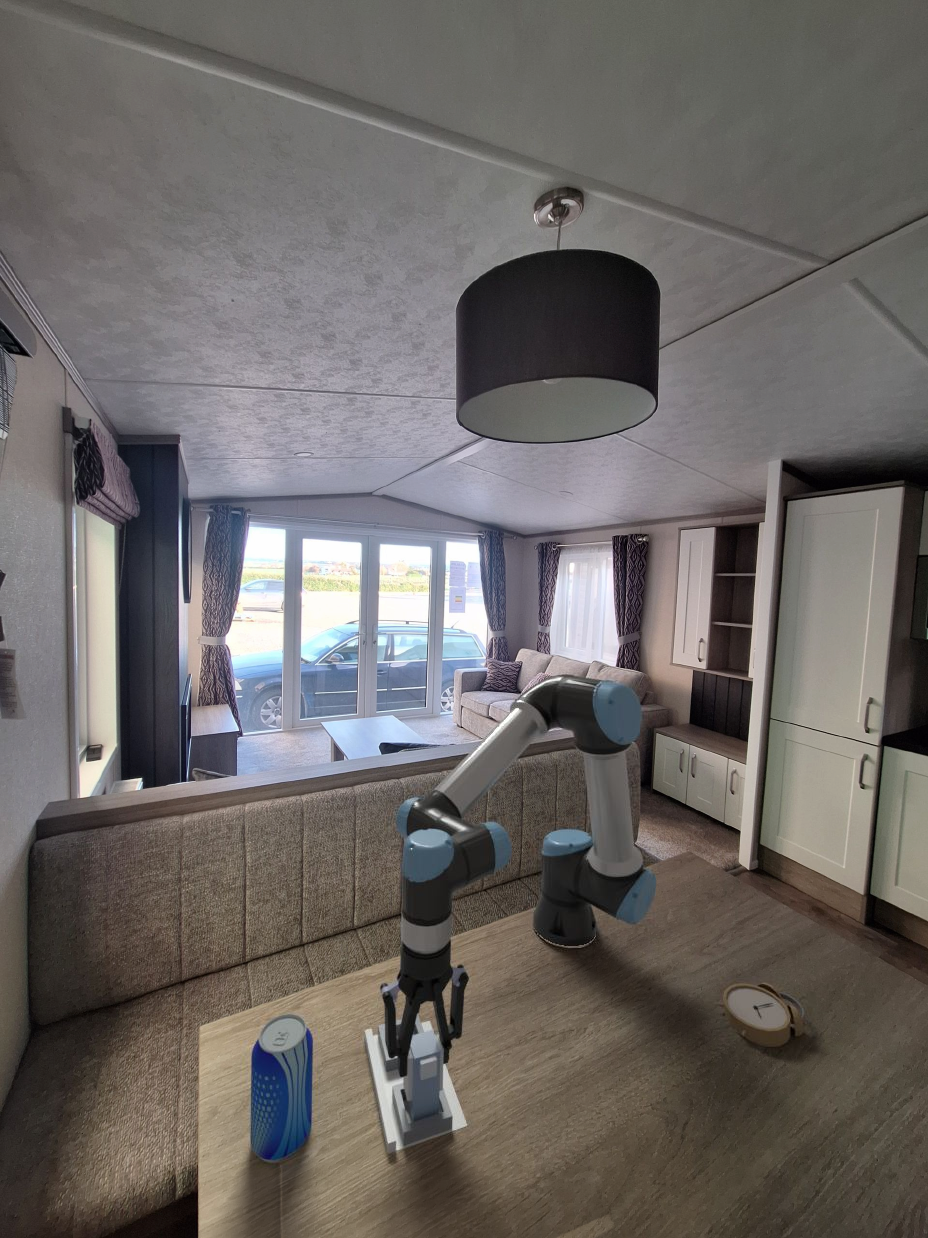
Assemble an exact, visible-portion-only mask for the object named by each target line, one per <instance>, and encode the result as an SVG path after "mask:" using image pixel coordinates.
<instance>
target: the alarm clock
mask: <svg viewBox="0 0 928 1238" xmlns="http://www.w3.org/2000/svg"><path fill="white" fill-rule="evenodd" d="M722 1000H723V1002H716V1006H718V1007H720V1008H723V1009H724V1012H723V1014H724V1013H725V1016H724V1018H725V1017H726V1018H727V1020H728V1022H729V1023H728V1022H727V1023H728V1025H729V1024H730V1025H731V1026H732V1027H733V1028H734V1029H735V1030H736V1031H737V1032H738V1033H739V1034H738V1033H737V1032H736V1031H735V1030H734V1029H733V1028H732V1027H731V1026H730V1025H729V1026H730V1027H731V1028H732V1029H733V1030H734V1031H735V1032H736V1033H737V1034H738V1035H740V1036H741V1035H742V1036H741V1037H743V1038H744V1037H745V1038H744V1039H746V1040H747V1041H750V1042H751V1043H754V1044H757V1045H758V1046H763V1047H767V1048H772V1047H781V1046H783V1045H785V1044H786V1043H787V1042H788V1041H789V1040H790V1038H791V1029H792V1028H790V1023H791V1024H794V1025H795V1030H794V1033H795V1034H794V1035H795V1036H794V1037H800V1036H802V1034H803V1032H804V1027H805V1026H807V1022H806V1021H804V1020H805V1010H804V1008H803V1006H802V1005H801V1003H800V1002H799V1001H798V1000H796V999H795V998H793V997H792V996H790V995H789V994H786V993H783V992H780V991H778V989H777V988H776V987H775V986H774V985H772V984H770V983H768V982H761V983H759V984H757V985H755V984H750V983H734V984H732V985H729V986H728V987H727V988H726V989H725V990H724V991H723V995H722ZM783 1000H786V1001H788V1002H790V1003H791V1004H793V1005H791V1004H788V1005H786V1003H784V1001H783ZM727 1020H726V1021H727Z"/></svg>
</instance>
